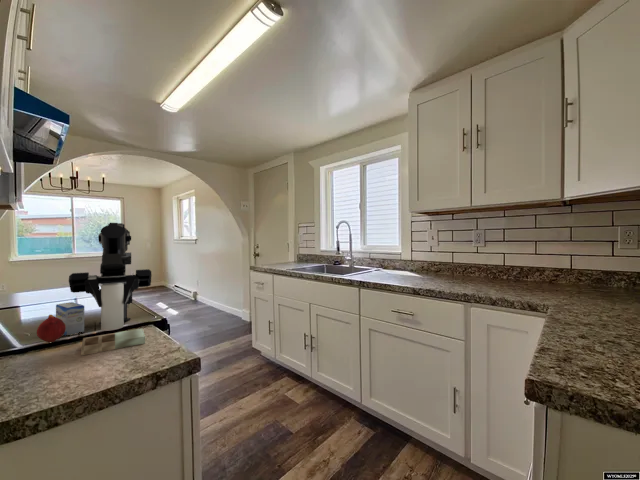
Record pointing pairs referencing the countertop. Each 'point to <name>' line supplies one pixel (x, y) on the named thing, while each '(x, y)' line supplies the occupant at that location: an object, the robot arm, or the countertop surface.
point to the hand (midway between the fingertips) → (112, 305)
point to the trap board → (112, 341)
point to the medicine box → (71, 317)
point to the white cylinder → (112, 306)
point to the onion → (51, 329)
